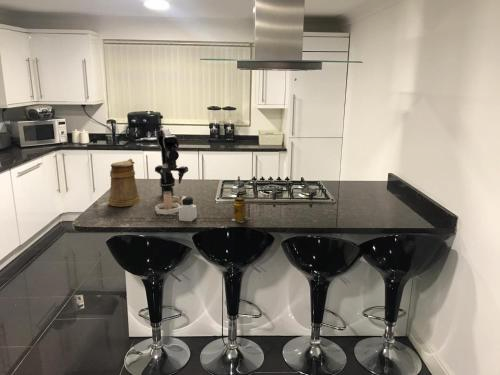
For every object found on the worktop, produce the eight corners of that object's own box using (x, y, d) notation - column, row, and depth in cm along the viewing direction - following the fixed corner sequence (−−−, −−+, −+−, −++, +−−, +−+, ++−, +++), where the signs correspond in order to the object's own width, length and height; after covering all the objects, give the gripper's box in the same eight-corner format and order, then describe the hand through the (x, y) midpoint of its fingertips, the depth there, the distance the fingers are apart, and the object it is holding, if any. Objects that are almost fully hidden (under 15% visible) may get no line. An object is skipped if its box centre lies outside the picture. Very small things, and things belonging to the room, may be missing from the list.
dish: (152, 214, 238) (151, 208, 237) (162, 206, 250) (162, 202, 249) (174, 215, 235) (174, 210, 234) (183, 208, 247) (183, 203, 246)
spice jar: (162, 210, 242) (161, 192, 239) (168, 208, 245) (167, 190, 242) (167, 211, 239) (166, 193, 236) (173, 209, 242) (172, 191, 240)
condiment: (230, 220, 228) (230, 198, 224) (241, 216, 234) (241, 195, 231) (241, 223, 223) (240, 201, 220) (251, 218, 229) (251, 197, 226)
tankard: (103, 207, 250) (99, 165, 243) (120, 196, 272) (117, 157, 266) (133, 208, 248) (129, 166, 241) (147, 197, 270) (145, 158, 264)
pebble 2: (174, 202, 256) (174, 197, 255) (176, 201, 258) (176, 196, 258) (179, 202, 255) (179, 198, 254) (181, 201, 258) (181, 196, 257)
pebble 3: (180, 201, 258) (180, 196, 257) (182, 199, 261) (182, 195, 260) (184, 201, 257) (184, 196, 256) (186, 200, 260) (186, 195, 259)
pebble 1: (171, 201, 258) (171, 196, 257) (173, 199, 261) (173, 195, 260) (176, 201, 258) (175, 196, 257) (178, 200, 260) (177, 195, 260)
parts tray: (167, 203, 256) (167, 199, 255) (173, 200, 263) (173, 195, 263) (183, 204, 254) (183, 200, 253) (188, 201, 261) (188, 196, 260)
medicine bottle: (196, 217, 231) (196, 196, 228) (191, 221, 225) (190, 200, 222) (185, 216, 234) (184, 195, 231) (178, 220, 227) (177, 198, 224)
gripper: (149, 159, 241) (151, 186, 245) (180, 160, 237) (181, 187, 241) (158, 155, 252) (159, 181, 256) (188, 157, 247) (189, 183, 251)
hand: (172, 183), depth 251 cm, fingers open, 9 cm apart
